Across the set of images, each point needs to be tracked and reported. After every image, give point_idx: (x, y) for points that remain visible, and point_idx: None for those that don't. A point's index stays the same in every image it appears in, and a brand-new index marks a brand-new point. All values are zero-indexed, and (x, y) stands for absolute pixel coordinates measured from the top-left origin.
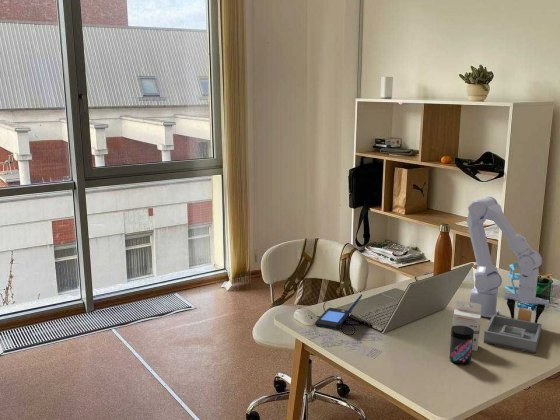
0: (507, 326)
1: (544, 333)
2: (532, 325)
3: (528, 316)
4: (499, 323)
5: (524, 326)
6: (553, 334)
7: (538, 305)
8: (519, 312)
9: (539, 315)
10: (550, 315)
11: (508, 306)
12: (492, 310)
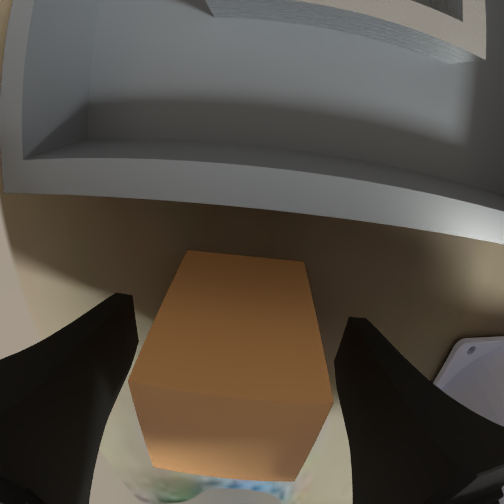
0: (447, 18)
1: (59, 210)
2: (107, 150)
3: (169, 343)
4: (486, 193)
5: (221, 148)
6: (12, 222)
7: (5, 490)
8: (312, 386)
9: (25, 350)
10: (121, 456)
11: (489, 422)
12: (480, 395)
